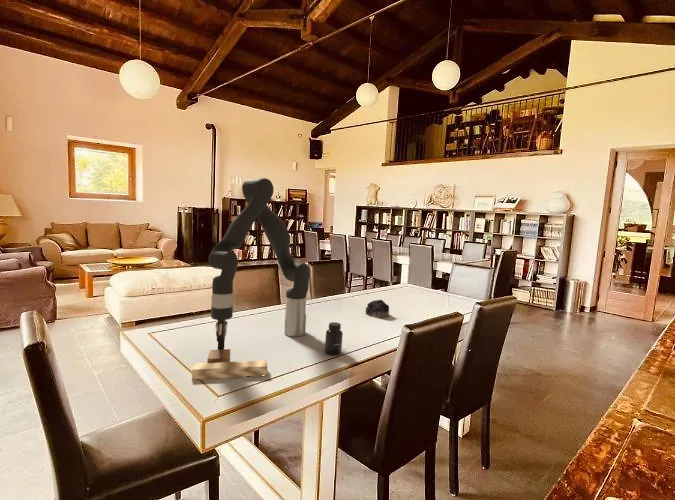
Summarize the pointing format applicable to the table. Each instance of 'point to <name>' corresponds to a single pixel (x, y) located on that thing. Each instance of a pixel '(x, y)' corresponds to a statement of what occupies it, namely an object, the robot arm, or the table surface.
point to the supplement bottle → (333, 339)
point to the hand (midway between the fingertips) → (221, 350)
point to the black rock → (377, 309)
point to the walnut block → (219, 356)
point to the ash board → (229, 369)
